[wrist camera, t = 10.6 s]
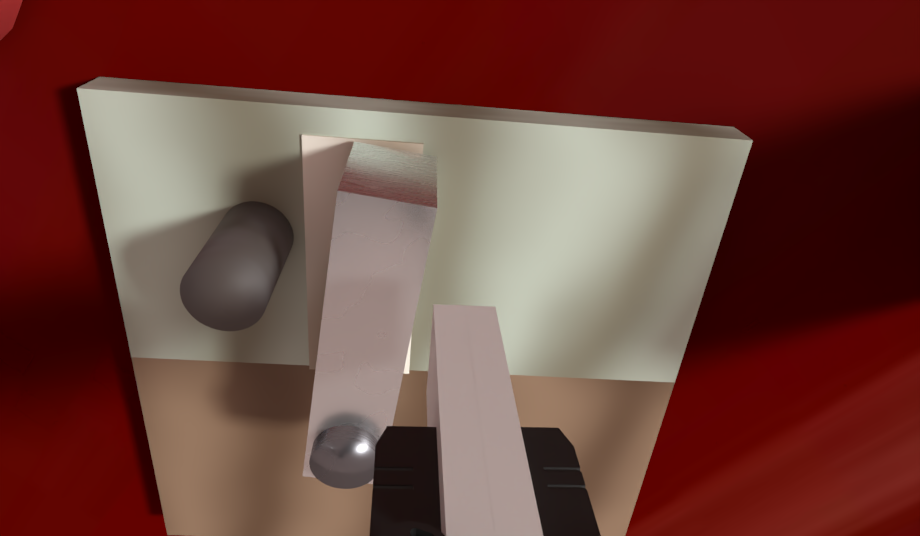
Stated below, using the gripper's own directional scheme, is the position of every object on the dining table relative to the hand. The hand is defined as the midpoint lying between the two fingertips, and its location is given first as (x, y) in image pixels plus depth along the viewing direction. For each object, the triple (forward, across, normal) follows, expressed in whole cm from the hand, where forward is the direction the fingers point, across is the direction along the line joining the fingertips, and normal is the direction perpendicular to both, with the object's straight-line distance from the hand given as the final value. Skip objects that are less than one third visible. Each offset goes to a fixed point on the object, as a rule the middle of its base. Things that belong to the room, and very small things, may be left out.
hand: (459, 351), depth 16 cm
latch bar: (+7, -2, -2) cm, 8 cm away
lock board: (+8, -1, -6) cm, 10 cm away
